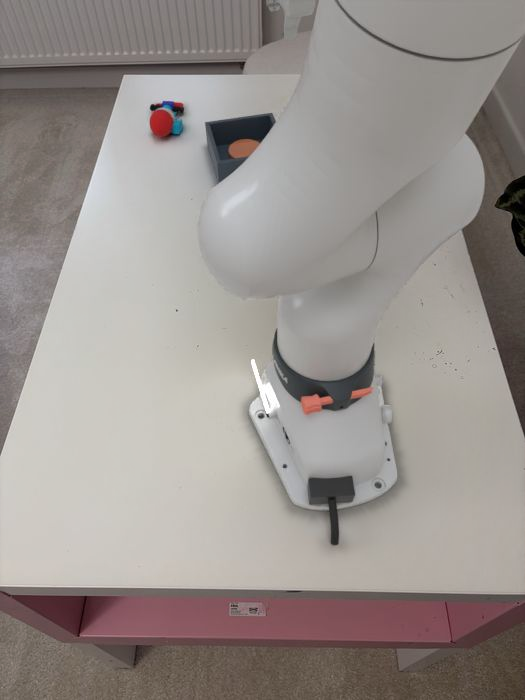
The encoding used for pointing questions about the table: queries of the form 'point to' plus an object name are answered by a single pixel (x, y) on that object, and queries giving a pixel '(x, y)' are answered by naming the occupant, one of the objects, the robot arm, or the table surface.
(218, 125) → the tub
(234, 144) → the orange hockey puck
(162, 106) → the toy figure
